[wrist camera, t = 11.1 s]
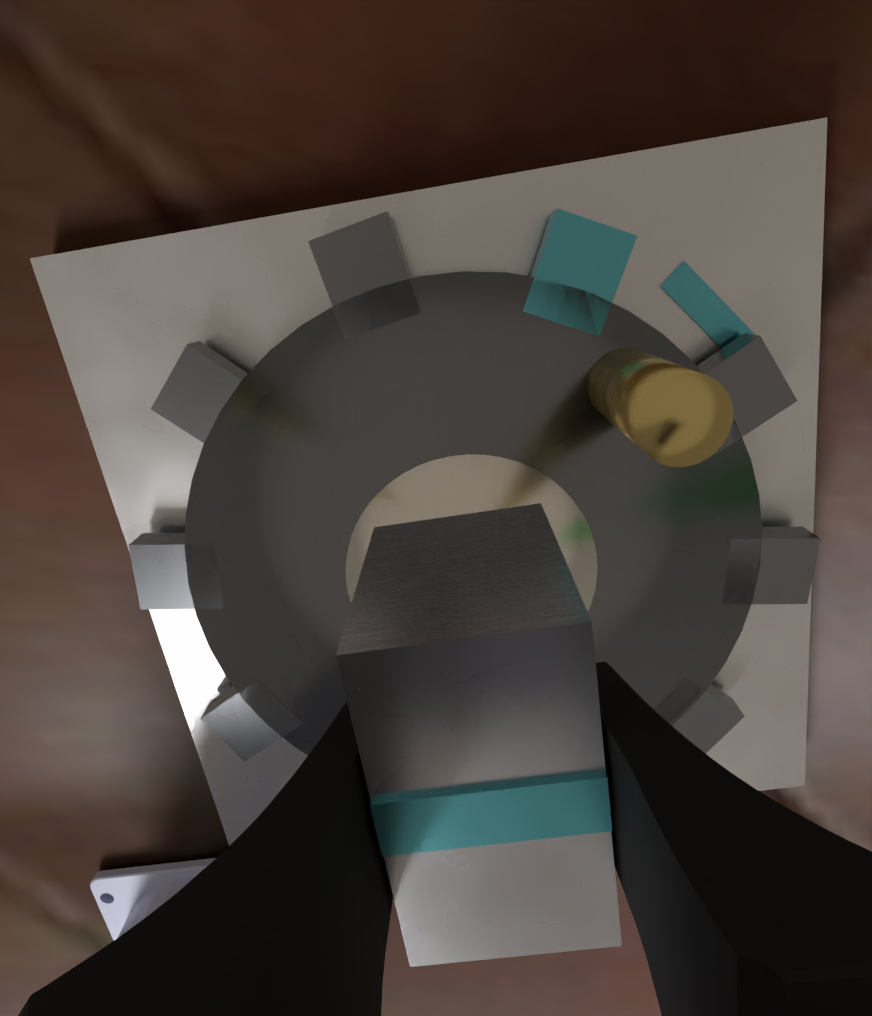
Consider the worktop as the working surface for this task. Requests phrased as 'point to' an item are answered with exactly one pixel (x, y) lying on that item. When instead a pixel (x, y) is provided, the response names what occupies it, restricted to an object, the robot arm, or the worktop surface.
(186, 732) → the worktop surface
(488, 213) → the base plate
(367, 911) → the robot arm
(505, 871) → the link block
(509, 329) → the sprocket
